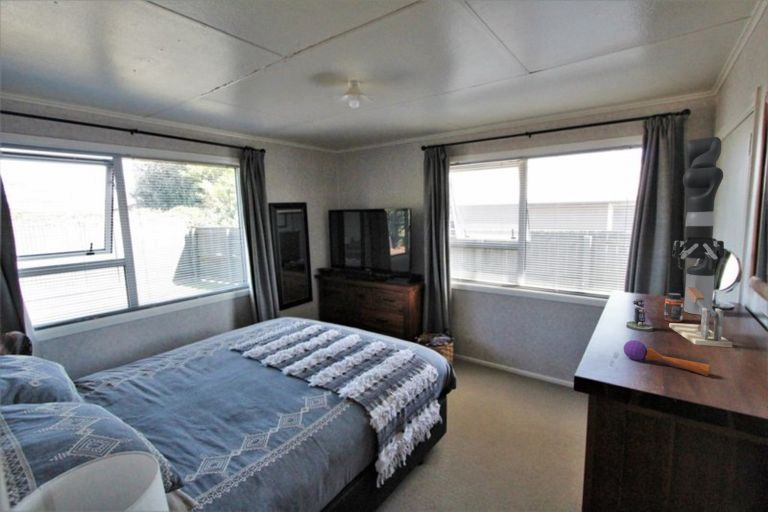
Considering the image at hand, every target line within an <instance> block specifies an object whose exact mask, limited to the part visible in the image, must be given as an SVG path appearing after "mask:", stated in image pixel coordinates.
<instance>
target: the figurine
mask: <svg viewBox="0 0 768 512" xmlns="http://www.w3.org/2000/svg"><path fill="white" fill-rule="evenodd" d="M632 303H633V305H634V315H633V317H634V319H633V320H634V321H633V320H629V321H627V322H626V325H625V326H626V328H627V329H628V330H629V329H630V330H632V331H638V332H643V333H644V332H645V333H646V332H652V331H654V325H652V324H651V323H647V322H646V313H648V312H647V311H648V310H647V309H646V306H645V300H644V299H642V298H641V297H638V298H636V299H634V300H633V301H632Z"/></svg>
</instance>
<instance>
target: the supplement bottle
mask: <svg viewBox="0 0 768 512" xmlns="http://www.w3.org/2000/svg"><path fill="white" fill-rule="evenodd" d="M667 296H668V297H667V298H665V299H664V300H665V301H664V312H663V313H664V314H663V319H664V320H665V321H667V322H670V323H680V322H682V321H683V316H684V313H683V312H684V300H683V299H682V297H681V296H682V295H681V293H679V292H678V293H676V292H669V293H668V295H667Z"/></svg>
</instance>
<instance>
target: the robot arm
mask: <svg viewBox="0 0 768 512" xmlns="http://www.w3.org/2000/svg"><path fill="white" fill-rule="evenodd" d="M721 154H722V141H721V138H720V137H718V136H708V137H703V138H695V139H690V140H687V142H686V143H685V146H684V160H685V161H684V162H685V173H684V174H683V178H682V184H683V186H684V187H685V195H684V196H685V197H684V199H685V204H684V207H685V209H684V210H685V228H684V239H683V240H674V241H673V246H672V254H671V256H672V257H673V258H677V261H678V262H677V266H678V268H679V269H680V270H685V269H686V259H696V260H697V259H698V260H704V262H702V263H700V264H697V265H692V266H687V269H686V274H685V275H686V277H685V288H684V289H685V291H684V302H683V312H685V313H689V314H692V315H699V316H701V315H700V314H699V313H698V311H699V308H700V306H699V305H698V304H697V303H695V302H694V301H693V300H692V299H691V298H690V296H689V295H688V294H687V289H688V287H692V288H697V289H698V291H699V292H700V293H701V294H702V295H703V296H704V297H705V299H704V300H705V301H706V302H707V303H708V304H709V305H710V306H711V308H712V309H713V301H714V300H713V299H714V290H715V289H714V288H715V273H716V267H717V260H718V259H722V258H724V256H725V242H724V241H723V240H717V239H716V238H714V226H715V225H714V224H715V215H714V211H715V210H714V209H715V200H716V195H717V192H718V190H719V187H720V185H721V183H722V182H723V178H724V172H723V169H721V168H720V167H717V162H718V161H719V158H720V157H721ZM681 247H683V250H682V251H681ZM680 251H681V252H680ZM685 258H686V259H685Z"/></svg>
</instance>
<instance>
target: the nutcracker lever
mask: <svg viewBox="0 0 768 512" xmlns="http://www.w3.org/2000/svg"><path fill="white" fill-rule="evenodd" d="M687 294H688V295H689V296H690V298H691V299H692V300H693V301H694V302H695V303H697V304H698V305H699V306H700V308H699V311H698V313H699V314H700V315H699V316H700V317H702V308H706V309H708V310H710V318H715V317H718V313H716V312H715V309H714V308H713V307H712V308H711V306H710V305H709V304H708V303H707V302H706V301H705V300H704V299H705V297H704V296H703V295H702V294H701V293H700V292H699V291H698V289H697V288H692V287H688V289H687Z"/></svg>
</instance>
